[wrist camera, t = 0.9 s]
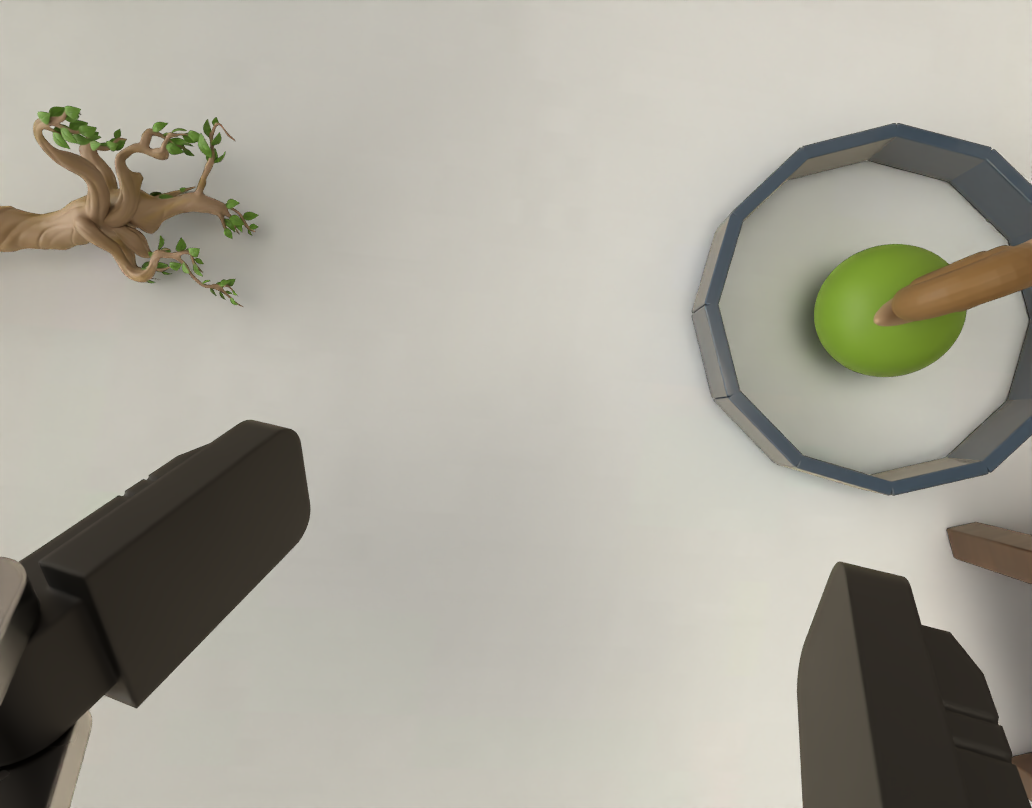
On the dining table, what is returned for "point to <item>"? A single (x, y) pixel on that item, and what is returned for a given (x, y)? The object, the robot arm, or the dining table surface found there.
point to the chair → (1005, 556)
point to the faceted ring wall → (919, 151)
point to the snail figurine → (909, 303)
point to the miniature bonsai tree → (119, 200)
